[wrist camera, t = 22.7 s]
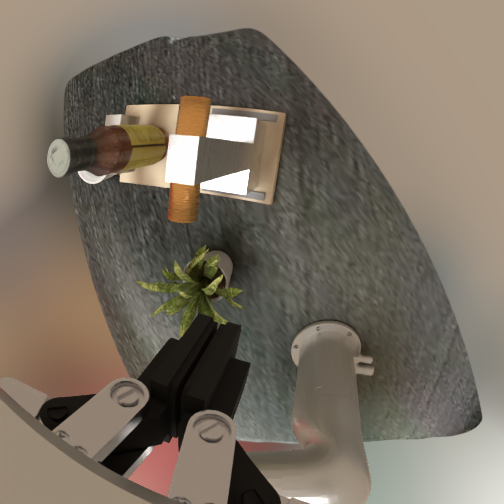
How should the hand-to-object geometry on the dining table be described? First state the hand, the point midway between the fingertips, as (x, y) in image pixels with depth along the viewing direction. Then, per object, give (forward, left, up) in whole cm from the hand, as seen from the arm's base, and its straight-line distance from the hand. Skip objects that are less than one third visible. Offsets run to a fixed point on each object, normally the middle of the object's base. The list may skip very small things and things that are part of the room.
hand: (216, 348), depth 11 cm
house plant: (+8, +13, -33) cm, 36 cm away
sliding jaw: (+9, -6, -30) cm, 32 cm away
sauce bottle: (+21, -6, -31) cm, 38 cm away
